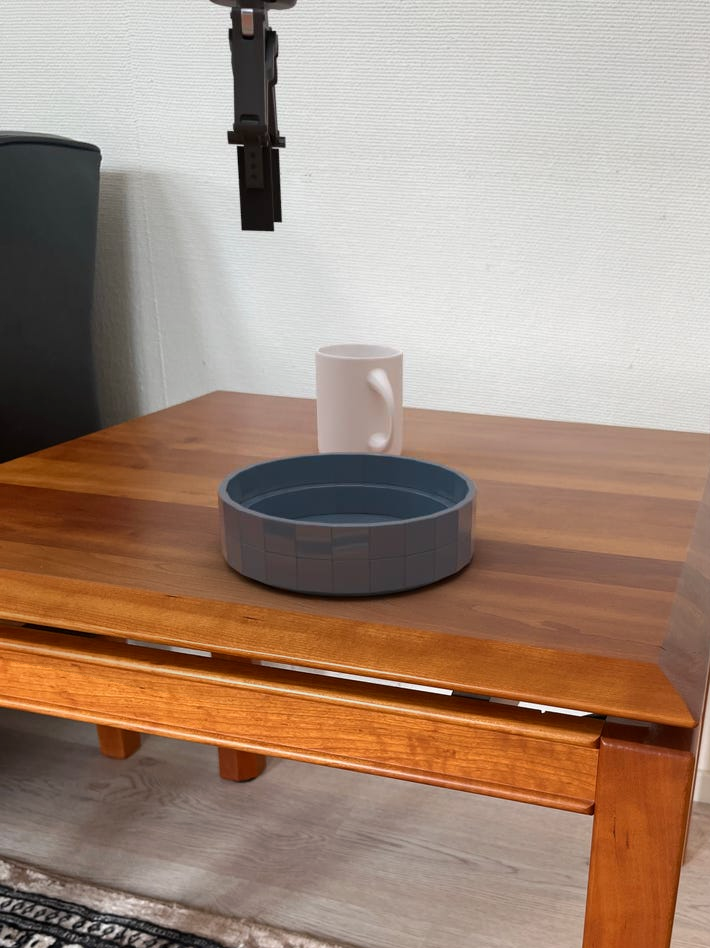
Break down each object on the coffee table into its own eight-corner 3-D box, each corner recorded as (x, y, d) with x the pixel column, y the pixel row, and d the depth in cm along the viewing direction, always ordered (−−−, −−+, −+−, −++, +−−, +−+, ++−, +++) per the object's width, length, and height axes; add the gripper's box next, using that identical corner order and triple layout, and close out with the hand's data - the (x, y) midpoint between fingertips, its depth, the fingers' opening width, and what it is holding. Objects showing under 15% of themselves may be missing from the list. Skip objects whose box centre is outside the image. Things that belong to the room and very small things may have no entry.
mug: (351, 481, 97) (349, 366, 93) (305, 450, 106) (302, 345, 102) (432, 471, 101) (433, 361, 97) (381, 443, 110) (380, 341, 106)
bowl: (210, 603, 69) (203, 526, 67) (235, 515, 87) (231, 451, 84) (488, 599, 72) (492, 525, 70) (459, 514, 89) (461, 452, 87)
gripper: (289, -79, 74) (300, 236, 83) (300, -24, 96) (308, 220, 105) (182, -86, 73) (205, 233, 82) (219, -29, 95) (233, 217, 104)
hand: (263, 226), depth 93 cm, fingers open, 13 cm apart
